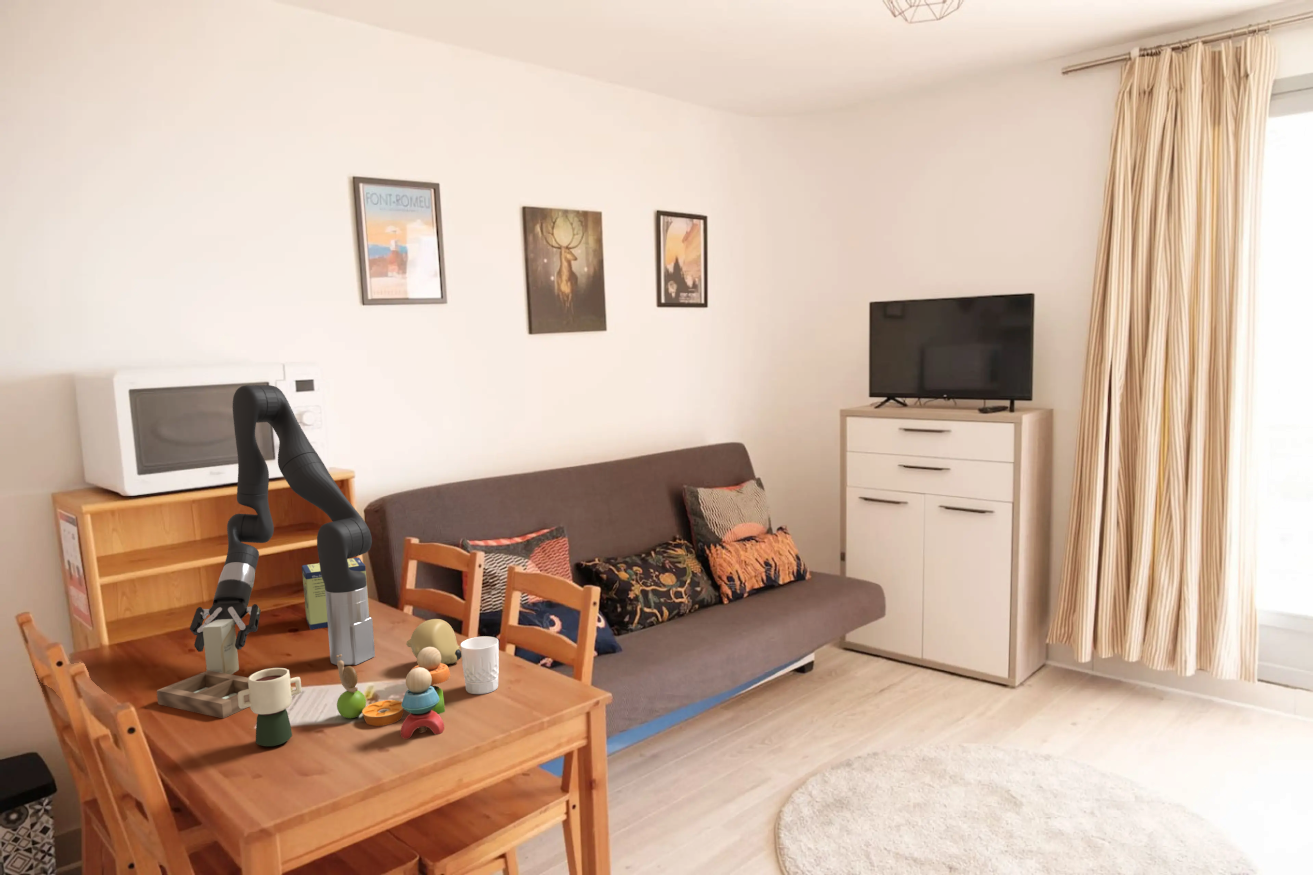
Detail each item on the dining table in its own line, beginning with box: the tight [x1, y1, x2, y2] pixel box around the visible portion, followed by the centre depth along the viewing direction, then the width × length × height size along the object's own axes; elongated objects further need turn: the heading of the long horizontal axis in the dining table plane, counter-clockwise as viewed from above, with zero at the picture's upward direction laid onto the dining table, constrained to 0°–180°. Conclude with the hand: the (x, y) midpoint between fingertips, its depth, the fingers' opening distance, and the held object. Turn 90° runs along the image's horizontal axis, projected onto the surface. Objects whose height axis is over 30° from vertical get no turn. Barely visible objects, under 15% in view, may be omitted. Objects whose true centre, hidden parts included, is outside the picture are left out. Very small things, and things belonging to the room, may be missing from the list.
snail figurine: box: [336, 654, 367, 719], centre depth 168 cm, size 5×6×12 cm
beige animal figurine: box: [406, 618, 462, 665], centre depth 196 cm, size 10×12×11 cm
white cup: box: [459, 636, 500, 695], centre depth 180 cm, size 8×8×10 cm
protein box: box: [301, 557, 370, 631], centre depth 232 cm, size 10×16×16 cm
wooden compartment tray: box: [156, 670, 250, 719], centre depth 179 cm, size 20×12×3 cm, turn 65°
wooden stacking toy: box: [361, 647, 452, 740], centre depth 165 cm, size 18×17×12 cm
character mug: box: [238, 667, 302, 747], centre depth 157 cm, size 11×7×13 cm, turn 128°
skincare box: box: [203, 619, 240, 675], centre depth 194 cm, size 6×4×12 cm
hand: (218, 649), depth 193 cm, fingers open, 8 cm apart
